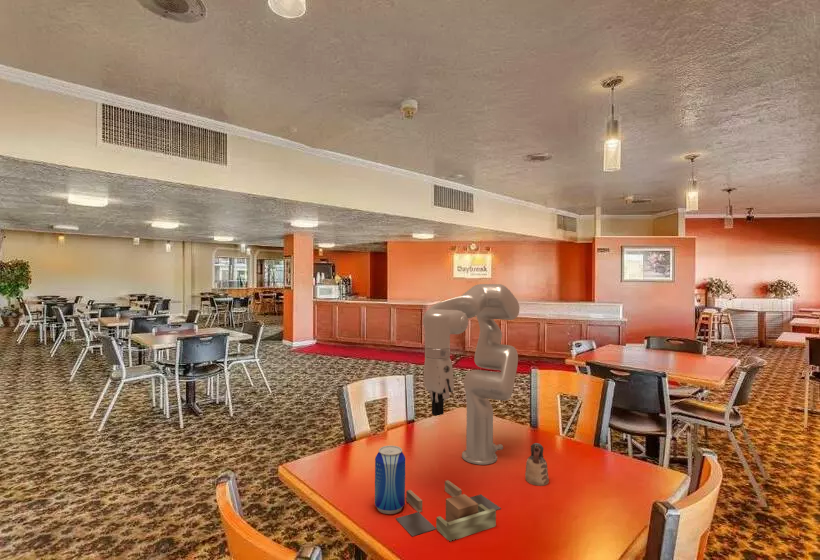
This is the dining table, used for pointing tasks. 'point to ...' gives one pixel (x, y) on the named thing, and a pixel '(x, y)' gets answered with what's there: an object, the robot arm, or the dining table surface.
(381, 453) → the beer can
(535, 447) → the figurine
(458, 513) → the walnut block
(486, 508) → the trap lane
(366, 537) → the dining table surface
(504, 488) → the dining table surface
